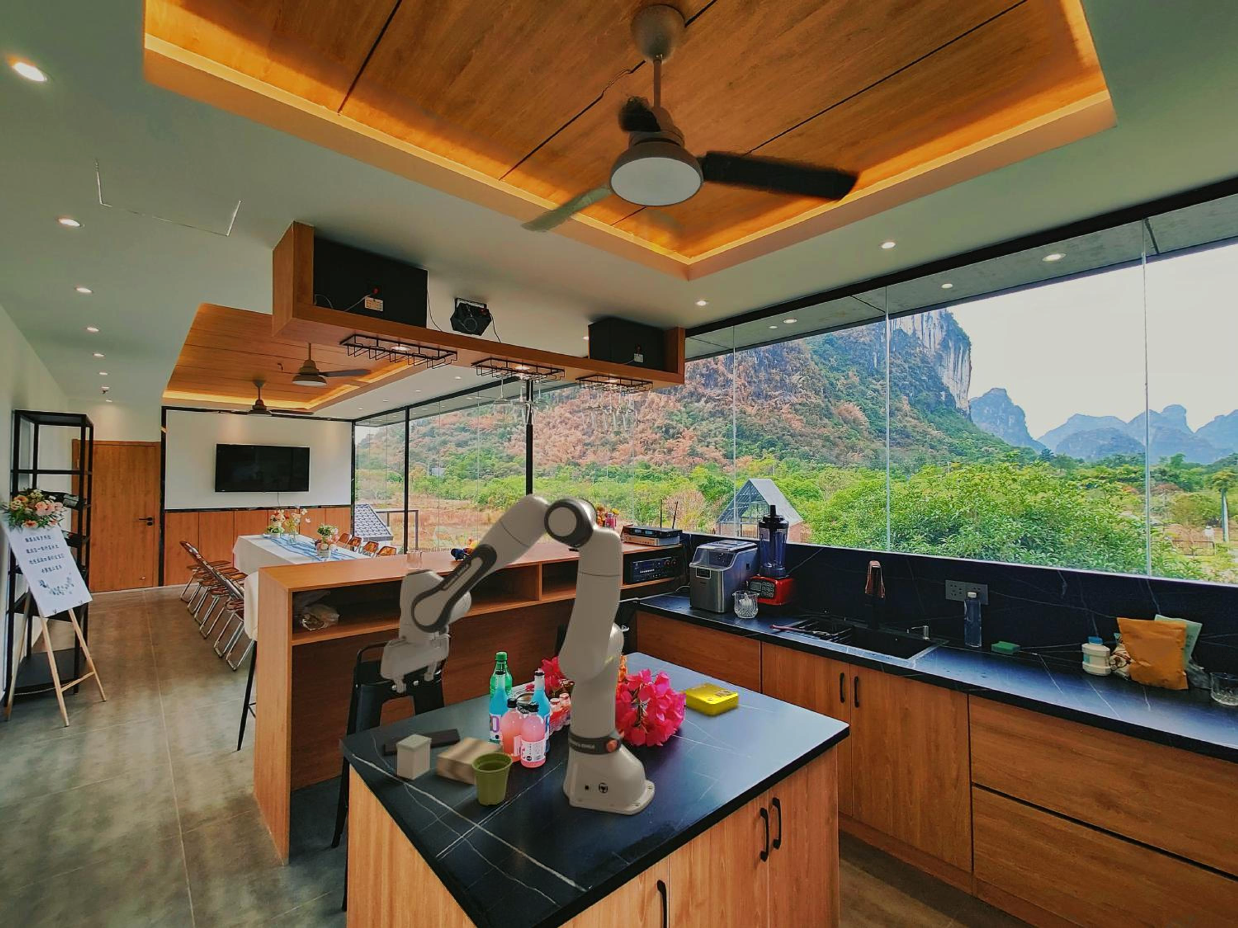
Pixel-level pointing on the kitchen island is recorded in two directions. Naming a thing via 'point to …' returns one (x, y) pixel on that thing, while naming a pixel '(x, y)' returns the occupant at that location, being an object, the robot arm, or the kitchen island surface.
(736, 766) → the kitchen island surface
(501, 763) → the plant pot
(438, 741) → the smart home device
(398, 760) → the cream tea tin
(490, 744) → the oak block
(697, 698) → the element tile
